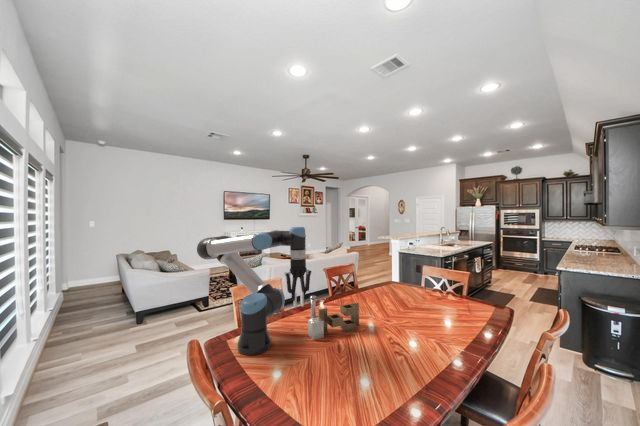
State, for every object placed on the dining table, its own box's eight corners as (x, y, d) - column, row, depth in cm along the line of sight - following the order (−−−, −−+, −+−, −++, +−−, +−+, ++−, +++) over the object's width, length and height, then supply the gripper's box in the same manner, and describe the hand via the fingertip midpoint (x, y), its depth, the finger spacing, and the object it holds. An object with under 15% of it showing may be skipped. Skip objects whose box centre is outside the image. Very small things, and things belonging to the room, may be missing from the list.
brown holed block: (346, 332, 137) (346, 309, 137) (340, 327, 143) (340, 305, 143) (364, 328, 142) (364, 306, 142) (358, 324, 148) (357, 302, 148)
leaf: (312, 340, 130) (312, 315, 130) (308, 334, 135) (307, 311, 135) (343, 333, 137) (342, 309, 137) (337, 328, 142) (337, 306, 142)
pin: (311, 329, 142) (311, 297, 142) (309, 326, 145) (309, 296, 145) (317, 328, 143) (317, 296, 143) (315, 325, 146) (314, 295, 146)
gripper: (284, 260, 123) (285, 311, 123) (316, 258, 130) (316, 306, 130) (280, 258, 130) (280, 306, 130) (310, 256, 137) (310, 301, 137)
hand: (298, 306), depth 130 cm, fingers open, 3 cm apart
